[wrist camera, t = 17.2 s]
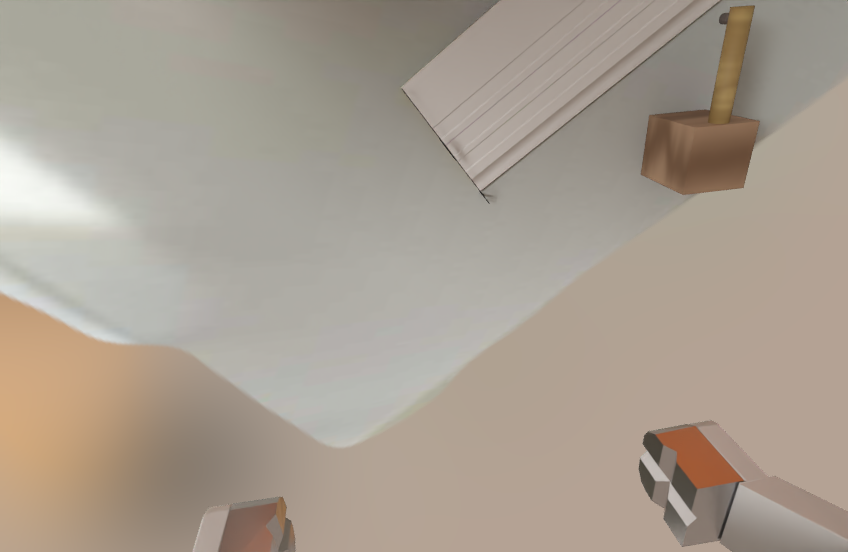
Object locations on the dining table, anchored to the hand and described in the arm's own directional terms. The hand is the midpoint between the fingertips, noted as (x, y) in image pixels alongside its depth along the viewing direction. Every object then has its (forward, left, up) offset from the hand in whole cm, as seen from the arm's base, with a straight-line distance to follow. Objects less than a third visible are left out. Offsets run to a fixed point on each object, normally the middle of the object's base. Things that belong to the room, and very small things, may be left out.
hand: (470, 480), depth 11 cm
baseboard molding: (-9, +18, -32) cm, 38 cm away
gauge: (-2, +25, -31) cm, 40 cm away
